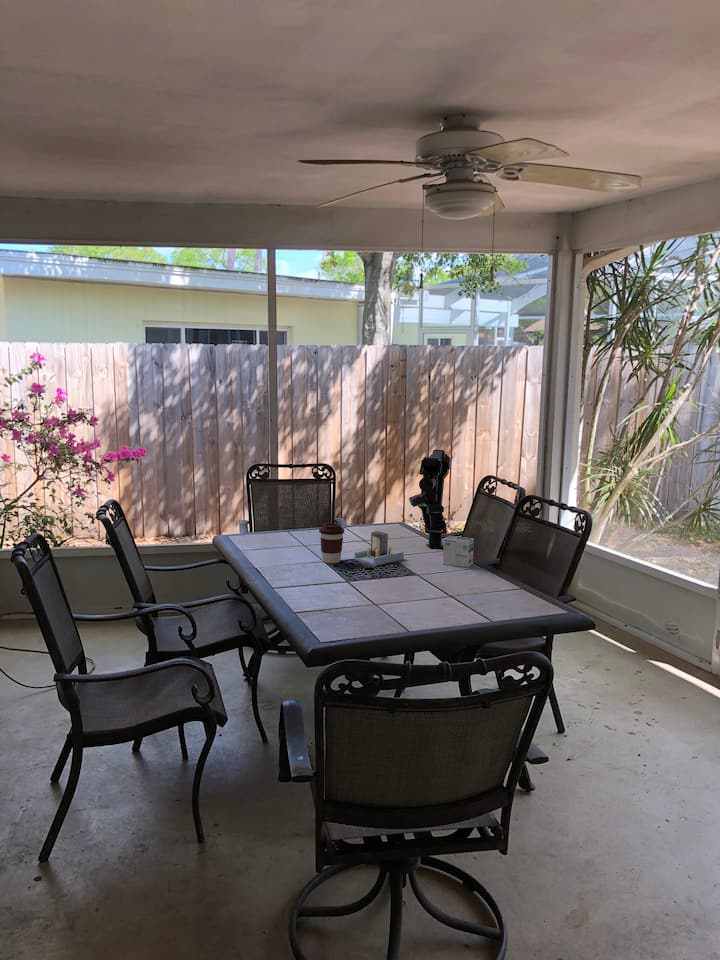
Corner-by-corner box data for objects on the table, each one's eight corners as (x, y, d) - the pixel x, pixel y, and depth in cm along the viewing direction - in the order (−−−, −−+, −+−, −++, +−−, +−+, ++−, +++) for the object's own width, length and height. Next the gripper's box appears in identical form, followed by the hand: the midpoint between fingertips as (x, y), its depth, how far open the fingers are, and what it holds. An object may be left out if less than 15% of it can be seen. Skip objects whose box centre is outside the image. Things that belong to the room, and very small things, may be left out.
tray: (382, 553, 317) (383, 541, 317) (403, 559, 309) (403, 547, 308) (354, 559, 307) (354, 547, 306) (375, 565, 298) (375, 553, 297)
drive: (376, 554, 311) (377, 531, 309) (387, 557, 307) (387, 533, 305) (370, 556, 308) (371, 532, 307) (380, 559, 304) (381, 534, 303)
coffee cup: (327, 565, 297) (328, 528, 294) (314, 560, 304) (314, 523, 302) (348, 562, 302) (349, 525, 300) (334, 557, 310) (335, 521, 308)
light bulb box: (473, 564, 304) (474, 537, 302) (468, 568, 297) (469, 541, 296) (447, 560, 308) (448, 534, 306) (442, 564, 302) (443, 538, 300)
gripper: (404, 484, 317) (403, 521, 320) (418, 492, 299) (416, 531, 302) (430, 484, 320) (429, 520, 322) (445, 491, 302) (443, 530, 304)
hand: (429, 525), depth 312 cm, fingers open, 9 cm apart
